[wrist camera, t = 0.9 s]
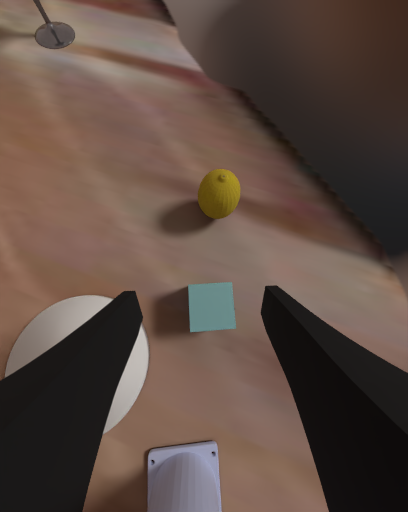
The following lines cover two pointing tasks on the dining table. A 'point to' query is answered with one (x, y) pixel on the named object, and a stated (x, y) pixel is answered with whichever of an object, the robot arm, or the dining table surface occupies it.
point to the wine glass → (53, 32)
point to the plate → (64, 323)
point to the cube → (211, 307)
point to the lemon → (219, 193)
